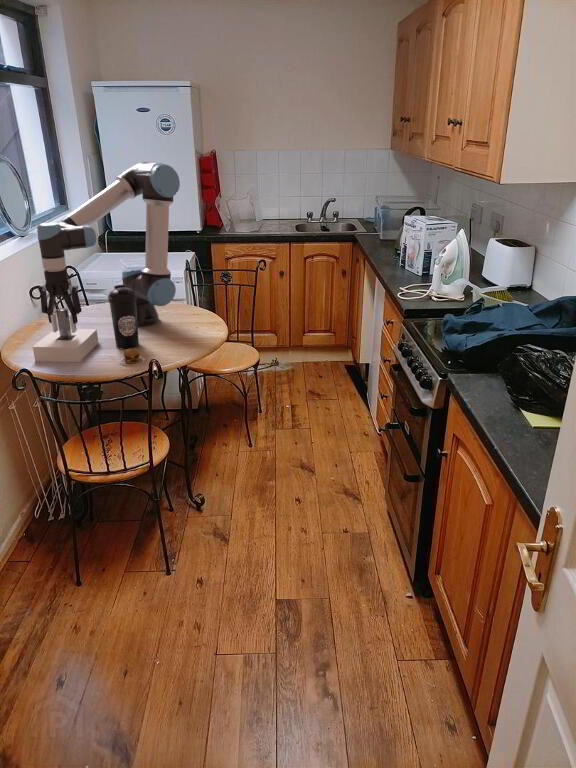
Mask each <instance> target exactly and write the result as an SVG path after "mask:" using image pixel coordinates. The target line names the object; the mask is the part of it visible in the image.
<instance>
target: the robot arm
mask: <svg viewBox="0 0 576 768" xmlns="http://www.w3.org/2000/svg"><path fill="white" fill-rule="evenodd" d="M180 187H181V182H180V177H179V175H178V173H177V171H176V169H175V168H174V167H172V166H170V165H169V164H165V163H162V162H159V163H158V162H145V161H144V162H139V163H137V164H135V165H133V166H131V167H130V168H128V169H126V170H125V171H123V172H122V173H120V174H119V175H118V176H116V178H115V181H114V182H113V183H112V184H110V185H108V186H107V187H106V188H105V189H103V190H102V191H100V192H99V193H98V194H96V195H94V196H93V197H92V198H91V199H89V200H88V201H86V202H85V203H83V204H82V205H80V206H79V207H77V208H76V209H75V210H73V211H72V212H71V213H69V214H68V215H66V216H64V217H63V218H62V219H60V220H56V221H54V220H53V221H51V222H43V223H40V224H38V225H37V227H36V229H37V231H36V232H37V233H36V234H37V239H38V244H39V250H40V255H41V261H42V269H43V274H44V279H45V284H41V285H38V287H37V289H38V292H39V295H40V306H41V307H40V308H41V312H42V314H45V315H46V314H47V318H48V323H49V324H51V326H52V331H53V333H55V332H57V331H58V328H59V326H58V319H57V312H56V313H55V311H54V309H55V303H56V297H57V296H61V297H62V299H63V300H64V302H65V304H66V308H67V309H68V312H69V314H70V315H69V320H70V327H71V330H72V333H75V332H76V331H77V329H78V328H77V323H78V321H79V320H78V315H79V314H80V313H82V307H81V301H80V297H79V293H78V292H79V291H78V289H79V286H78V285H73V284H72V285H71V283H70V282H69V276H68V270H67V264H66V263H67V262H66V256H65V251H69V250H70V251H71V250H79V249H87V248H91V247H94V246H95V245H96V244H97V234H96V231H95V229H94V228H93V227H92V226H93V225H94V224H95V223H97V222H98V221H100V219H102V218H103V217H105V216H106V215H107V214H110V212H112V211H113V210H115V209H116V208H118V207H119V206H120V205H122V204H123V203H124V202H126V201H127V200H128V199H130V200H133V199H135V198H136V197H138V196H141V195H142V200H143V202H145V204H146V210H145V212H146V214H145V215H146V216H145V217H146V218H145V219H146V220H145V255H144V256H145V259H144V260H145V262H144V263H145V266H139V267H130V268H125V269H124V270H122V272H121V280H122V285H125V287H126V288H129V289H130V290H132V291H133V292H134V293H135V294H136V298H137V300H136V310H137V324H138V327H145V326H150V325H154V324H157V322H159V321H160V319H159V318H160V317H159V314H158V311H157V309H156V306H157V307H164V306H167V305H169V304H170V303H171V301H173V300H174V298H175V296H176V290H177V289H176V285H175V283H174V281H172V278H171V276H172V272H171V271H170V269H168V257H169V256H168V254H169V252H168V251H169V248H168V247H169V224H170V223H169V222H170V221H169V219H170V206H171V205H172V204H173V203H174V197H175V196H176V194H177V193H178V192H179V190H180ZM47 290H48V291H49V300H48V297H47V296H48V295H47ZM69 291H70V293H71V297H72V298H71V297H70V293H69Z"/></svg>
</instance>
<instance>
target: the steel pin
mask: <svg viewBox="0 0 576 768" xmlns="http://www.w3.org/2000/svg"><path fill="white" fill-rule="evenodd" d="M55 311H56V319H57V325H58V328H59V332H60V339H61V340H72V334H71V323H70V317H69V316H70V315H69V314H70V312H69V309H68V308H67V307H66V308H65V307H63V308H62V307H61V308H57V309H56V310H55Z"/></svg>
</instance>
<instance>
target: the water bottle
mask: <svg viewBox="0 0 576 768" xmlns="http://www.w3.org/2000/svg"><path fill="white" fill-rule="evenodd" d="M136 300H137V298H136V294H135V293H134V292H133V291H132V290H130V289H129V288H126V287H125V285H123V284H118V285H116V284H115V285H114V289H112V290H111V291H110V292H109V294H108V295H107V301H108V303H109V306H110V314H111V321H112V327H113V333H114V334H113V335H114V340H115V347H116V348H117V349H119V350H127V349H130V348H133V349H136V348H137V347H139V346H140V341H139V340H140V339H139V328H138V327H139V326H138V324H137V310H136Z"/></svg>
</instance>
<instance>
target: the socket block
mask: <svg viewBox="0 0 576 768" xmlns="http://www.w3.org/2000/svg"><path fill="white" fill-rule="evenodd" d="M76 329H77V331H76V332H75V333H72V330H71V334H72V340H61V339H60V332H59V327H58V331H57V332H55V333H53V330H52V331H50V332H49V333H48V334H47V335H46V336H44V337H43V338H41V339H40V340H39V341H37V343H36V344H34V345H33V346H32V351H33V356H34V360H35V361H34V362H54V363H55V362H60V363H61V362H62V363H80V362H82V361H83V359H84V358H85V357H86V356H87V355H88V354H89V353H90V352H91V351H92V350H93V349H94V348H95V347H96V346H97V345H98V344H99V336H98V329H91V328H76Z"/></svg>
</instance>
